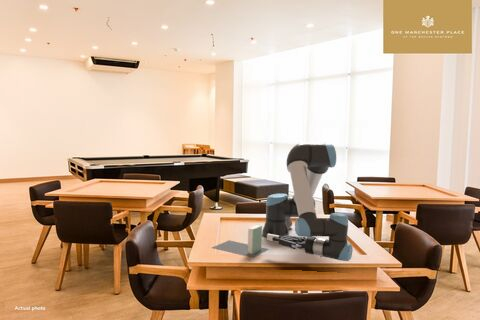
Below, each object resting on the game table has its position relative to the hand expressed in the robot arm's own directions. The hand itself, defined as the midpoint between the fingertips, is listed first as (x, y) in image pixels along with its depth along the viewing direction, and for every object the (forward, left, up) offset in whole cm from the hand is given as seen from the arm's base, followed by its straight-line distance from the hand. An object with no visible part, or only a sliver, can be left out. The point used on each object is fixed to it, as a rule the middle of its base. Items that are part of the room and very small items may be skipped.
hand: (267, 236), depth 175 cm
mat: (-11, -10, -9) cm, 17 cm away
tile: (-5, -5, -9) cm, 11 cm away
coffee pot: (-49, +22, -9) cm, 55 cm away
